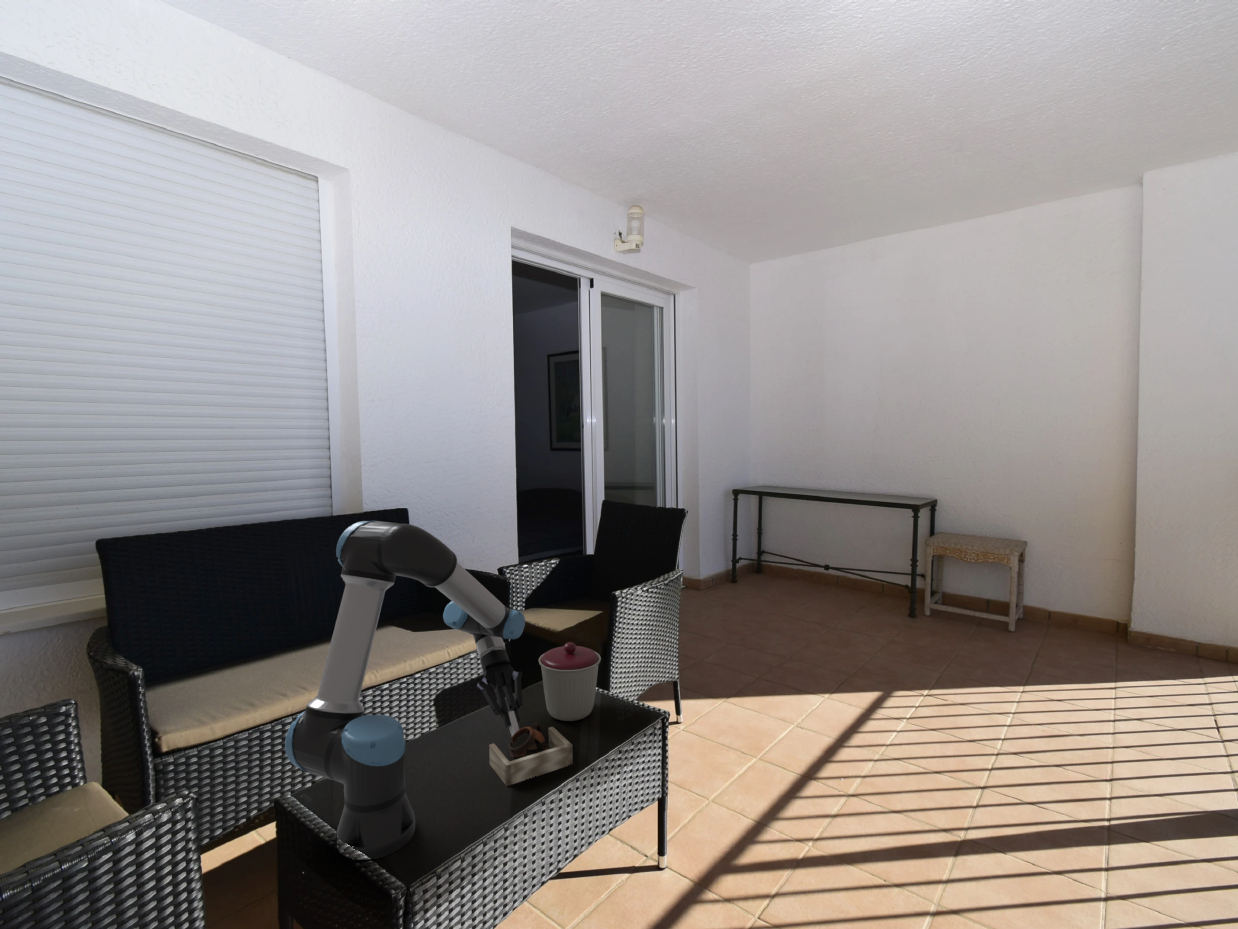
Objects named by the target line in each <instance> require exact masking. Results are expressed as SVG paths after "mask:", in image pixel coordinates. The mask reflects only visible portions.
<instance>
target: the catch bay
mask: <svg viewBox="0 0 1238 929" xmlns="http://www.w3.org/2000/svg"><path fill="white" fill-rule="evenodd" d="M547 735H548V736H547V737H548V748H549V750H545V749H544V750H542V751H539V752H537V753H532V754H529V755H526V757H518V758H517V759H513V760H511V761H510V760H509V759H508V758H507V757H506V756H505V755H504V753H503V752H502V751H501V750H500V748H498V746H497V745H496V744H495V743H491V744H489V745H488V746H489V765H490V767H491V768H492V769H493V770H494V772H495V773H496V774H497V776H498V777H499V779H500V780H501V781H502V783H504V784H505V786H506V787H508V786H509V787H510V786H511V785H514V784H518V783H521V782H523V781H526V779H527V780H530V779H532V778H535V776H536V777H539V776H541V775H544V774H548V773H551V772H554V771H557V770H559V769H560V770H561V769H563V768H565V767H569V766H571V765H570V764H572V765H574V764H573V761H574V760H573V744H572V743H571V742H570V741H569V740H568V739H567V738H566V737H565V736H564V735H562V733H560V732H559V731H558V730H557V729H556V728H555V727H554V726H550V727H548V734H547ZM568 765H569V766H568ZM529 778H530V779H529Z"/></svg>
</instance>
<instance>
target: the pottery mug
mask: <svg viewBox="0 0 1238 929" xmlns="http://www.w3.org/2000/svg"><path fill="white" fill-rule="evenodd" d="M542 729H543V728H542V726H541V724H539V723H538V722H533V723H532V724H530V726H523V727H521V728H519V730H518V731H517V732H516V733H515V734H514V735H513V736H511V737H510V739H511V741H509V743H508V744H507V747H508V749H509V755H510V757H511V758H513V759H515V758H517V759H519V758H523V757H526V756H527V750H528V751H535V750H537V749H538V745H539V744H541V749H542V750H544V751H545V750H549V749H550V747H549V744H548V742H547V740H546V738H545V736H544V735H543V734H542V733H543V730H542ZM525 733H526V735H528V738H527V739H526V740H525V741H524V742H523V743H522V744H520V745H519V746H516V747H514V744H515V742H516V741H517V740H518V739H519V738H520V737H521V736H523V735H524V734H525ZM518 737H519V738H518ZM517 738H518V739H517Z"/></svg>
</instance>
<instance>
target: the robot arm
mask: <svg viewBox="0 0 1238 929" xmlns="http://www.w3.org/2000/svg"><path fill="white" fill-rule="evenodd" d="M335 553H336V558H338V559H337V562H338V563H339V565H340V566H341V567H342V568H341V573H340V577H341V578H342V580H343V582H344V584H345V586H344V589H343V594H342V598H341V602H340V604H339V605H340V606H339V609H338V613H337V617H336V620H335V625H334V630H333V633H332V636H331V640H330V643H329V647H328V653H327V657H326V658H325V662H324V663H325V664H324V668H323V671H322V674H321V679H320V682H319V683H320V684H319V687H318V691H317V695H316V696H315V697H314V698H313V699H311V700H310V701H309V702H307V704H306V707H305V710H304V711H302V712H301V713H300V714H298V715H297V716H295V717H296V719H295V720H294V721H292V722H291V724H290V726H289V727H288V730H287V733H286V735H285V742H284V749H285V754H286V757H287V760H289V762H290V763H291V765H293V766H295V767H296V768H299V769H300V770H301V771H302V772H304V773H308V774H311V775H312V774H313V775H316V776H318V777H322V778H325V779H328V780H332V781H335V782H337V783H340V784H342V785H343V792H344V793H343V794H344V797H343V798H344V806H343V808H342V814H341V817H340V819H339V823H338V825H337V830H336V832H337V836H338V838H339V839H340V840H341V841H342V842H344V843H347V844H348V845H350V846H351V847H352V846H354V847H353V849H355V850H358V851H360V852H362V853H364V854H365V855H367V856H368V857H370V858H372V859H374V860H378V859H381V858H385V857H387V856H389V855H392V854H394V853H396V852H397V851H399V850H401V849H402V848H403V847H405V845H407V844H408V843H409V842H410V840H412V838H413V836H414V834H415V831H416V818H415V812H414V810H413V807H412V805H411V803H410V801H409V798H408V796H407V792H406V740H405V732H404V728H403V725H402V724H401V722H400V721H399V720H397V719H396V718H394V717H392V716H390V715H387V714H376V715H373V714H365V715H364V711H365V708H364V706H363V705H362V702H360V698H361V697H360V696H361V693H362V689H363V685H364V680H365V676H366V672H367V669H368V664H369V659H370V656H371V652H372V648H373V644H374V639H375V635H376V631H377V627H378V623H379V619H380V613H381V610H382V607H383V606H382V605H383V602H384V598H385V593H386V591H387V590H388V589H390V588H391V587H392V586H394V584H395V581H396V578H397V577H398V576H399V577H405V578H410V579H413V580H417V581H418V582H420V583H422V584H423V585H424V586H426V587H427V588H428V587H429V588H435V589H437V591H439V592H440V593H442V594H443V595H444V596H445V597H446V598H447V599H449V600H450V602H449V603H447V604H446V606H445V608H444V611H443V614H442V618H443V621H444V624H446V626H448V627H450V628H452V629H453V630H457V631H461V632H463V633H467V634H470V635H472V636H473V640H474V643H475V646H476V651H477V654H478V658H479V659H480V666H481V668H482V669H481V670H482V672H483V676H482V680H479V681H478V683H477V685H476V688H477V689H478V690H479V691H481V693H482V694H483V696H484V697H485V700H486V702H487V704H488V705H489V707H490V709H491V711H492V712H493V714H494V716H500V717H501V718H502V719H503V723H504V726H505V727H506V728H509V731H510V735H511V737H512V736H513V735H514V734H515V733H516V732H517V731H518V730H520V726H519V724H520V723H521V718H520V716H519V712H518V711H519V710H521V708H522V706H523V704H524V703H523V691H522V689H523V688H522V677H523V675H524V674H523V672H522V671H515V670H514V668H513V667H512V665H511V663H510V659H509V656H508V652H507V651H506V646H505V642H504V640H507V639H508V640H516V639H518V638H520V637H521V635H522V634H523V632H524V629H525V627H526V626H525V625H526V617H525V615H524V613H523V612H522V611H521V610H517V609H514V608H513V609H510V608H508V607H507V606H506V605H504V604H503V603H502V602H501V601H500V600H499V599H498V598H497V597H496V596H495V595H494V594H492V593H491V592H490V591H489V590H488V589H487V588H486V587H485V586H484V585H483V584H482V583H481V582H479V581H478V579H477V578H475V577H474V576H473V575H472V574H471V573H470V572H469V571H467V570H466V568H464V567H463V566H462V565H461V564H460V563H459V562H458V557H457V554H456V553H455V552H454V551H453V550H451V549H450V548H449V547H448V545H446V544H445V543H444V542H442V541H441V540H440V539H439V538H437V537H436V536H435V535H433V534H432V533H431V532H428V531H427V530H425V529H423V528H422V527H419V526H416V525H414V524H411V523H410V524H409V523H398V522H389V521H380V520H362V521H358V522H356V523H353V524H351V525H350V526H348V527H347V528H346V529H345V530H344V531H343V532H342V533H341V535H340V536H339V539H338V540H337V544H336V550H335ZM396 576H397V577H396ZM512 679H513V681H514V693H513V689H512V686H511V684H512V683H511V680H512ZM489 686H491V688H492V689H493V692H494V693H495V696H494V694H493V692H492V690H491V689H490V687H489ZM508 708H509V709H508ZM519 738H520V737H518V738H517V740H518V739H519Z"/></svg>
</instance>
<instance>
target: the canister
mask: <svg viewBox="0 0 1238 929" xmlns="http://www.w3.org/2000/svg"><path fill="white" fill-rule="evenodd" d="M601 660H602V658H601V655H600V654H599V653H598V652H596V651H595V650H593V649H592V648H589V647H586V646H579V645H576V644H575V643H574V642H570V641H569V642H566V643H565V644H564V645H562V646H558V647H554V648H551V649H549V650H547V651H545V653H543V654H541V655H540V656H539V658H538V663H539V665H540V667H541V675H542V684H543V693H544V699H545V700H544V701H545V705H546V709H547V710H546V711H547V712H548V714H549V715H550V716H551V717H552V718H553V719H555V720H559V721H563V722H576V721H580V720H583V719H585V718H587V717H588V716H589V715H590V714H591V713H592V711H593V708H594V706H595V698H596V691H597V682H598V675H599V674H598V671H599V665H600V663H601Z"/></svg>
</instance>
